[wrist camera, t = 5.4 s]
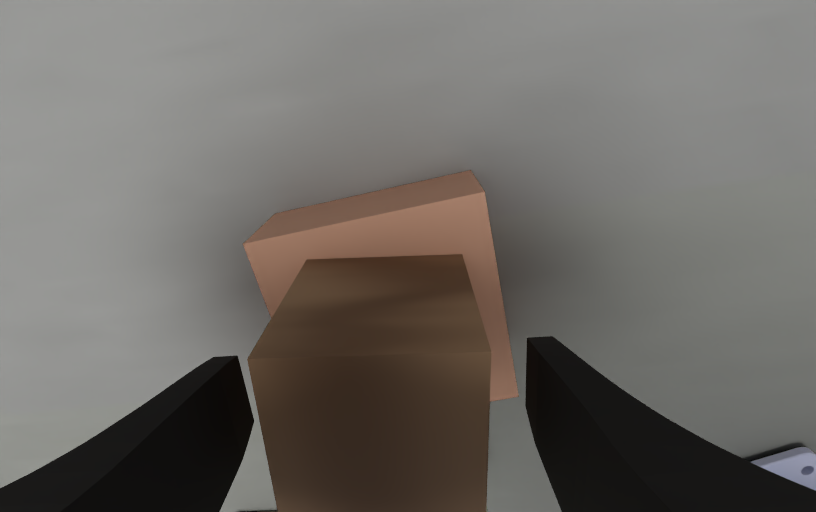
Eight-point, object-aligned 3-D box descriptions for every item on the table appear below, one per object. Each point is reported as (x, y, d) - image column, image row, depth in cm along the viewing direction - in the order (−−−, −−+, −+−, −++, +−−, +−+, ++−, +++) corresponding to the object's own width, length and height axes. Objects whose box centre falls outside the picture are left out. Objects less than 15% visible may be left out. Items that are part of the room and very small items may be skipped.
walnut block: (462, 253, 13) (491, 351, 8) (461, 383, 14) (485, 526, 10) (306, 259, 13) (247, 359, 8) (323, 387, 15) (281, 531, 10)
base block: (469, 168, 15) (484, 191, 12) (499, 339, 18) (518, 396, 15) (277, 211, 16) (243, 244, 13) (332, 370, 18) (314, 431, 15)
